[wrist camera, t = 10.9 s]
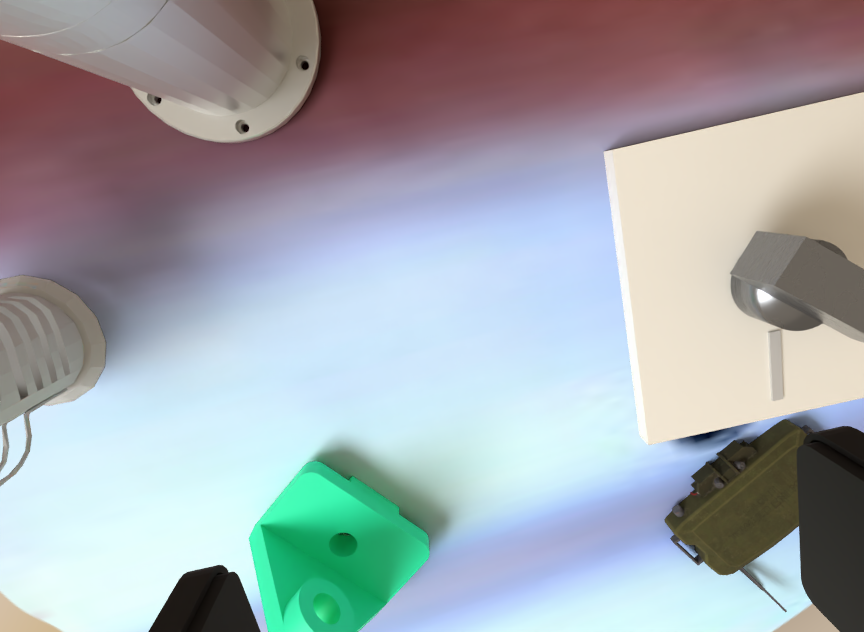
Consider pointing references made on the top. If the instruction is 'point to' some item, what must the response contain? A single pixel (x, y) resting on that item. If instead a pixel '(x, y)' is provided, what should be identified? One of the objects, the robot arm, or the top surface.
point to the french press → (44, 351)
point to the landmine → (742, 501)
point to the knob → (799, 284)
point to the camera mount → (332, 553)
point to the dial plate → (716, 257)
